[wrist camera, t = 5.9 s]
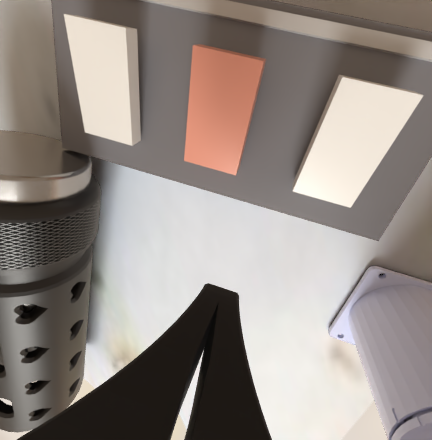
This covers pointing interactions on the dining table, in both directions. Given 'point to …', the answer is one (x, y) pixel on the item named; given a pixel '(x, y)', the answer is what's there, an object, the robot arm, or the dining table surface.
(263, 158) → the switch box
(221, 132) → the rocker middle
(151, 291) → the dining table surface
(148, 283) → the dining table surface
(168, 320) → the dining table surface
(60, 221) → the muzzle brake
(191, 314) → the robot arm
